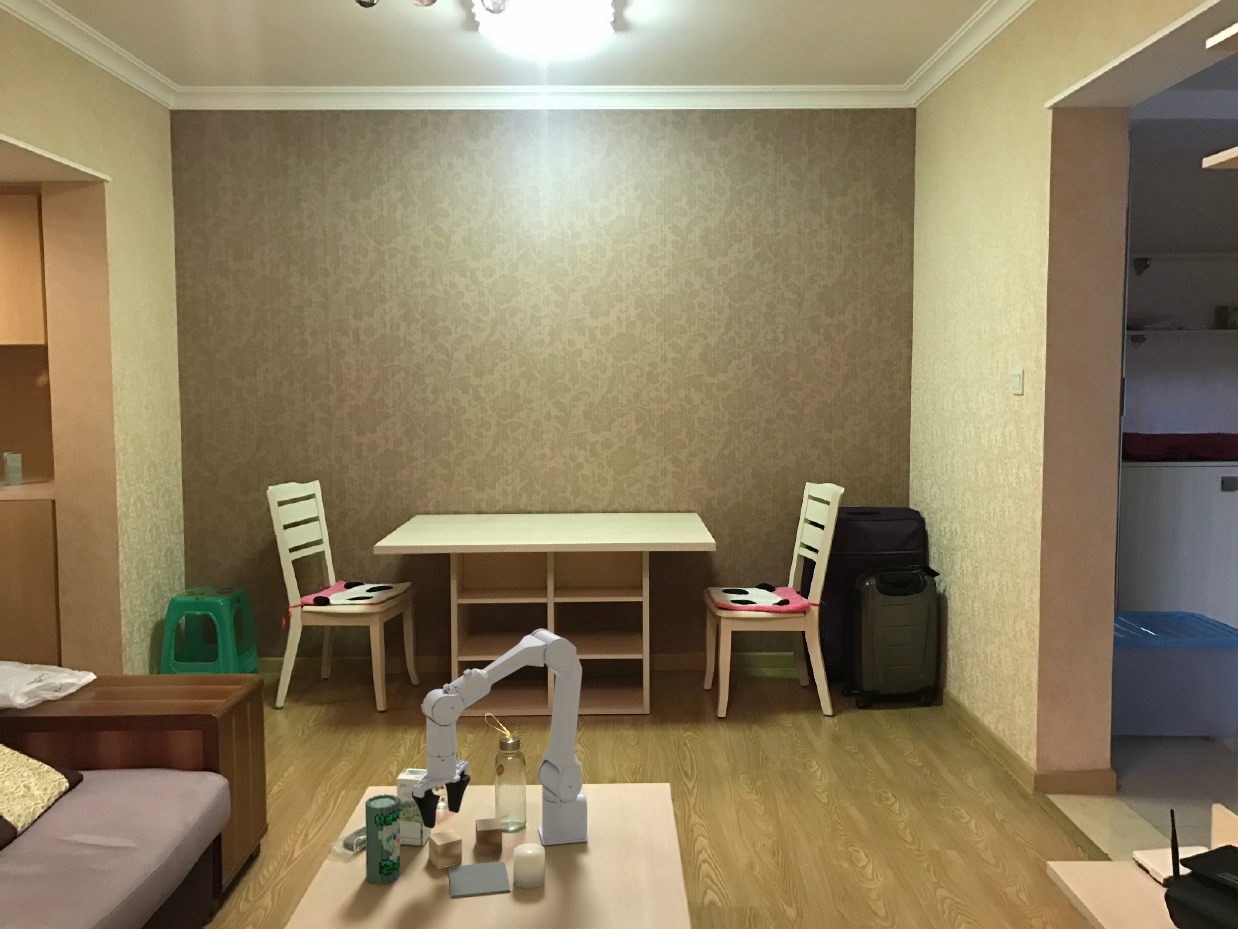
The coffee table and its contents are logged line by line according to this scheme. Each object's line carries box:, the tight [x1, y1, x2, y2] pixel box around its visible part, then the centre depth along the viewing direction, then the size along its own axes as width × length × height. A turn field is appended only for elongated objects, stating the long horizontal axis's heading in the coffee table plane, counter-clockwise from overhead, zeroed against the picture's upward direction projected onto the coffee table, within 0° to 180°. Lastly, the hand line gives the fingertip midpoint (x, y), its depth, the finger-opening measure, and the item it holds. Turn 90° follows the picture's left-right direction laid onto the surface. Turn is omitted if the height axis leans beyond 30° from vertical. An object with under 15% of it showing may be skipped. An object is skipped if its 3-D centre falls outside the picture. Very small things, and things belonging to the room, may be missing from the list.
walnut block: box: [475, 817, 503, 855], centre depth 197 cm, size 5×5×5 cm
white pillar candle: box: [513, 842, 546, 890], centre depth 184 cm, size 6×6×6 cm
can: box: [364, 793, 401, 886], centre depth 184 cm, size 6×6×15 cm
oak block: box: [428, 828, 463, 870], centre depth 191 cm, size 5×5×5 cm
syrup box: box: [396, 768, 432, 847], centre depth 199 cm, size 6×6×14 cm
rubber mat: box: [448, 861, 511, 899], centre depth 184 cm, size 11×11×1 cm
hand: (441, 819), depth 188 cm, fingers open, 7 cm apart
